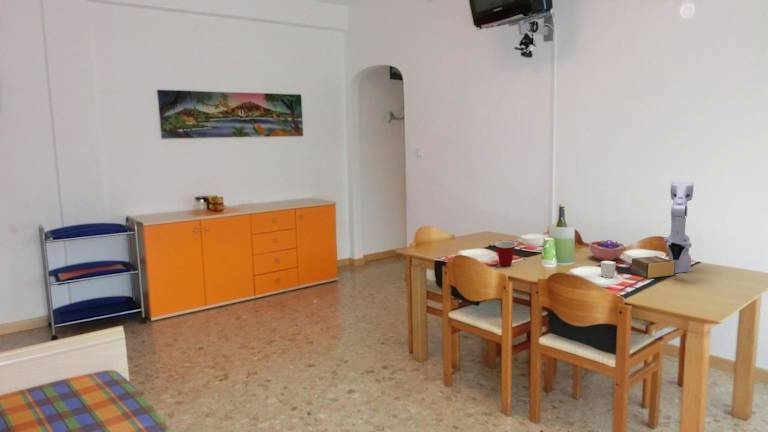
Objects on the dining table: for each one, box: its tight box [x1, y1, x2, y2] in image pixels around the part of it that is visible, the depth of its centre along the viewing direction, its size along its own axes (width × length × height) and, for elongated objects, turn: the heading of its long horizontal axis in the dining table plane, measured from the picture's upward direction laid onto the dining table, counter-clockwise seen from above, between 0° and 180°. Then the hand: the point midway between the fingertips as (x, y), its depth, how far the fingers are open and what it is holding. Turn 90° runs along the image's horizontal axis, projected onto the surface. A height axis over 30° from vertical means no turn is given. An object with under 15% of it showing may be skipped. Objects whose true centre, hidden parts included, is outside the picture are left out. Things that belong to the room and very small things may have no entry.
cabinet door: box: [647, 261, 676, 279], centre depth 255 cm, size 15×1×7 cm, turn 105°
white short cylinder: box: [600, 260, 617, 278], centre depth 258 cm, size 7×7×7 cm
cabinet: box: [630, 255, 671, 278], centre depth 261 cm, size 14×10×7 cm
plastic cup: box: [495, 240, 517, 268], centre depth 283 cm, size 11×11×12 cm
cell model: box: [588, 239, 626, 261], centre depth 290 cm, size 17×20×11 cm
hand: (676, 259), depth 249 cm, fingers closed
